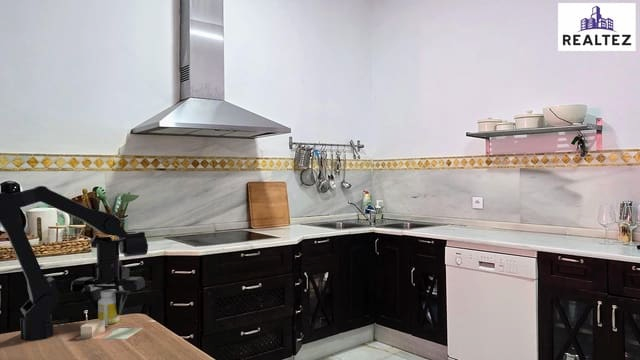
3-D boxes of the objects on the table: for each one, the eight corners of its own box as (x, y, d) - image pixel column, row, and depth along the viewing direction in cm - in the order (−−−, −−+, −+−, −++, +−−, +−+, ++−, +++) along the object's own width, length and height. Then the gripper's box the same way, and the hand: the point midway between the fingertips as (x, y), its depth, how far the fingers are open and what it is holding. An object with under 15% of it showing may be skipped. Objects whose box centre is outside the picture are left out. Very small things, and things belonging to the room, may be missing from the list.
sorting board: (72, 344, 120) (72, 339, 120) (94, 331, 130) (94, 327, 130) (126, 344, 118) (126, 339, 118) (144, 331, 128) (144, 327, 128)
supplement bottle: (122, 322, 136) (121, 288, 136) (115, 328, 131) (114, 292, 131) (102, 323, 136) (102, 288, 136) (94, 329, 130) (94, 293, 130)
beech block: (92, 338, 120) (92, 326, 120) (80, 338, 120) (80, 326, 120) (104, 330, 126) (104, 319, 126) (93, 330, 126) (93, 319, 126)
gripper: (152, 254, 141) (153, 307, 141) (92, 254, 142) (92, 307, 142) (135, 260, 130) (136, 317, 130) (69, 260, 131) (70, 317, 131)
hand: (109, 314), depth 133 cm, fingers closed on supplement bottle, 5 cm apart
